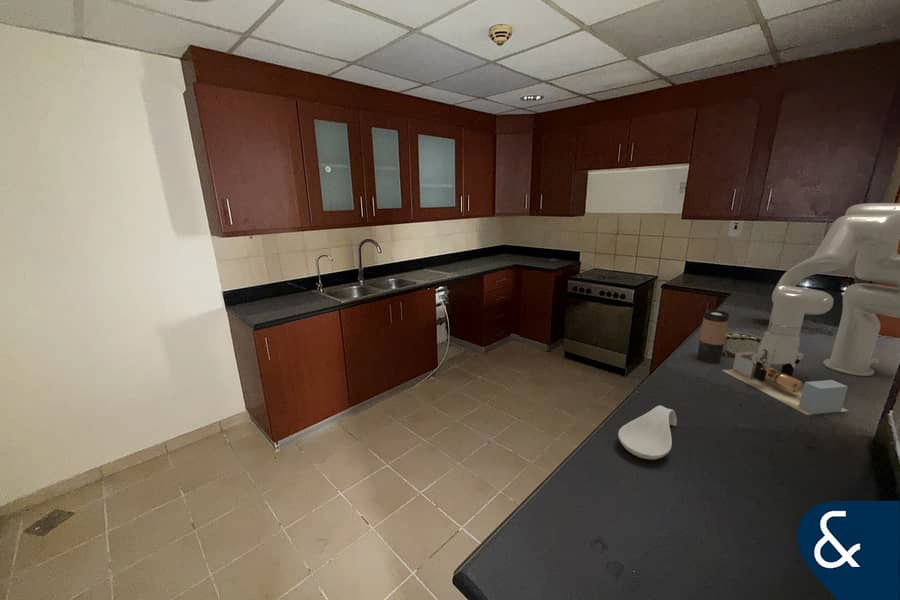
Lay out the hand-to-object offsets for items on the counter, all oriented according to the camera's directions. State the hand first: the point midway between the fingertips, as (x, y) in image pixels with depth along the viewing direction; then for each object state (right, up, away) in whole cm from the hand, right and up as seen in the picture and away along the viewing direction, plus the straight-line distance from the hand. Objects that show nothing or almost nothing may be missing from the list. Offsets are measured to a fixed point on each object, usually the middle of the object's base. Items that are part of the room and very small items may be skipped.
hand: (772, 378), depth 119 cm
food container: (+8, +3, +25) cm, 26 cm away
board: (+1, -4, -1) cm, 4 cm away
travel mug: (-6, +2, +21) cm, 22 cm away
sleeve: (-1, 0, +8) cm, 8 cm away
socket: (+2, -6, -13) cm, 15 cm away
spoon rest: (-53, -12, -24) cm, 59 cm away
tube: (0, -1, +2) cm, 2 cm away
